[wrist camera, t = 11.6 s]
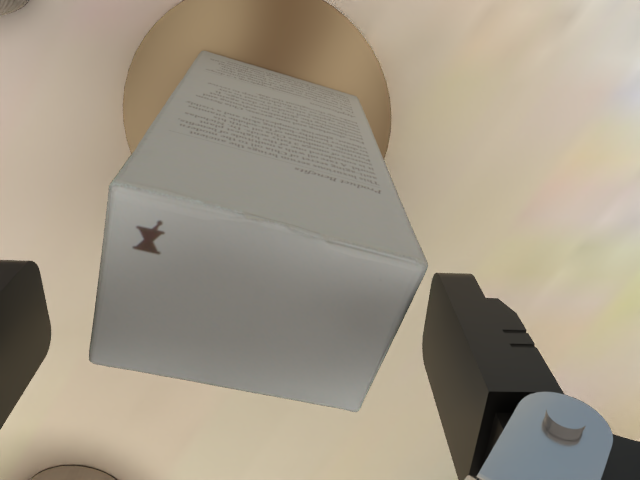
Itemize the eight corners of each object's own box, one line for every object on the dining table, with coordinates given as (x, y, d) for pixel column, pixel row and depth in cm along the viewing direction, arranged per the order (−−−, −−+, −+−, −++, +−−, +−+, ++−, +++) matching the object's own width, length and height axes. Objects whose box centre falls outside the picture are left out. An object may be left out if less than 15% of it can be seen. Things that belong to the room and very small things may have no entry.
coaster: (403, -12, 20) (406, -10, 19) (375, 239, 25) (377, 246, 24) (111, -28, 19) (106, -27, 19) (140, 233, 24) (137, 240, 24)
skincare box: (178, 157, 22) (74, 366, 11) (201, 46, 20) (101, 174, 9) (329, 197, 23) (361, 421, 12) (364, 95, 21) (437, 259, 11)
